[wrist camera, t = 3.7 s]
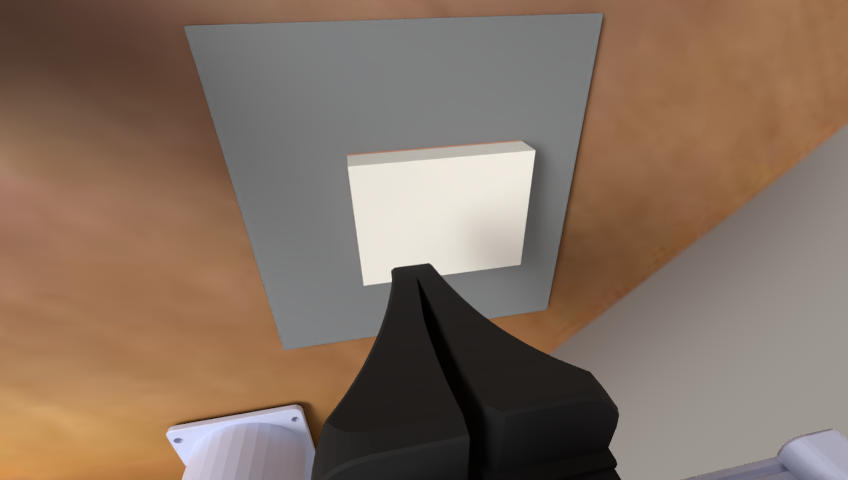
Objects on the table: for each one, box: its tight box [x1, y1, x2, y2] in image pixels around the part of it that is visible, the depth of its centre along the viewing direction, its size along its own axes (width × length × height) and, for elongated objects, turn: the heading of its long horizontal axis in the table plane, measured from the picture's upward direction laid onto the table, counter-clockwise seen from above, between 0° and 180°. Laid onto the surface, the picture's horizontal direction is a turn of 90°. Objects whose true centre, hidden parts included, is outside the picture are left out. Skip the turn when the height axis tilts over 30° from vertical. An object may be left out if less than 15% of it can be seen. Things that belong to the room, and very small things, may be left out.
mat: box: [184, 13, 604, 350], centre depth 18 cm, size 16×16×1 cm
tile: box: [347, 140, 535, 286], centre depth 18 cm, size 6×2×8 cm
